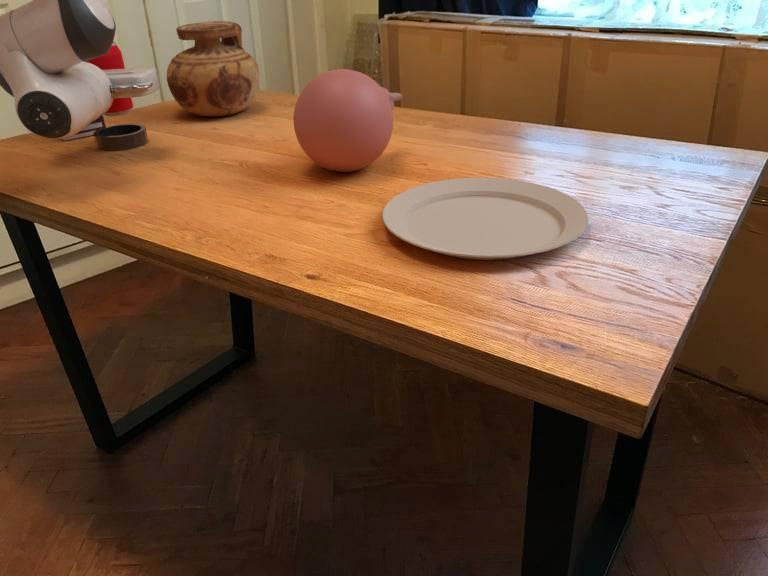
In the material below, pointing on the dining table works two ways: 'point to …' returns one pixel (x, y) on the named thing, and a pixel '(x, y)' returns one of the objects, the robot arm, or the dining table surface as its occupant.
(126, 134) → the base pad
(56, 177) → the dining table surface
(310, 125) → the balloon
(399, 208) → the plate
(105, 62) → the beverage can
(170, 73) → the clay pot
